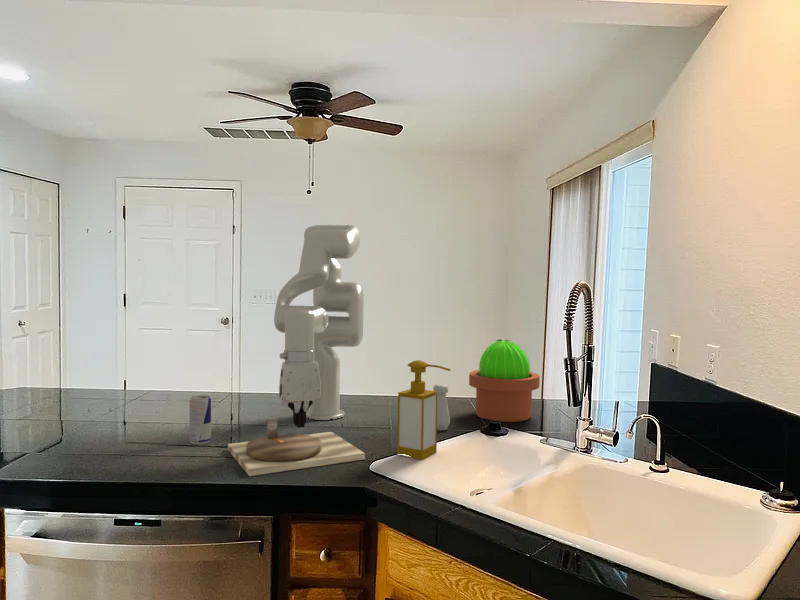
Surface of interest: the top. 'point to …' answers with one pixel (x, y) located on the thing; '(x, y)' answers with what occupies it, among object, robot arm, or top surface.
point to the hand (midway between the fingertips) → (299, 426)
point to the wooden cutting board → (330, 454)
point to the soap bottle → (417, 416)
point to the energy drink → (200, 420)
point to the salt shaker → (442, 407)
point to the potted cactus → (504, 383)
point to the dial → (282, 445)
